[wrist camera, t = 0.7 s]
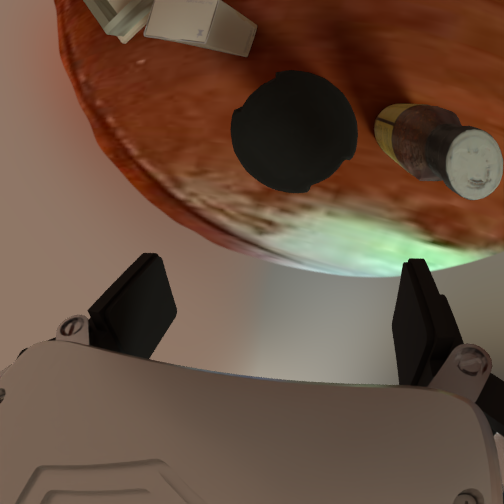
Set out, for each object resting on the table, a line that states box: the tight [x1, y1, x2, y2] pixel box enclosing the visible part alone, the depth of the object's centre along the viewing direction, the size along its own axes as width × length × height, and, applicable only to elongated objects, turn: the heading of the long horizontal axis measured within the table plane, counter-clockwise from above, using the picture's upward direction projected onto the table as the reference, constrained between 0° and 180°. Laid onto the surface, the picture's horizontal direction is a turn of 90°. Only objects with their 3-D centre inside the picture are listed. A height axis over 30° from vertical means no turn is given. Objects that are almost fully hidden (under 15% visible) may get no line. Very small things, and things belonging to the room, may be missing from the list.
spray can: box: [231, 70, 358, 193], centre depth 23 cm, size 7×7×20 cm
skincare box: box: [144, 0, 257, 57], centre depth 23 cm, size 6×4×12 cm
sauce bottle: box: [374, 104, 503, 200], centre depth 21 cm, size 7×6×20 cm
